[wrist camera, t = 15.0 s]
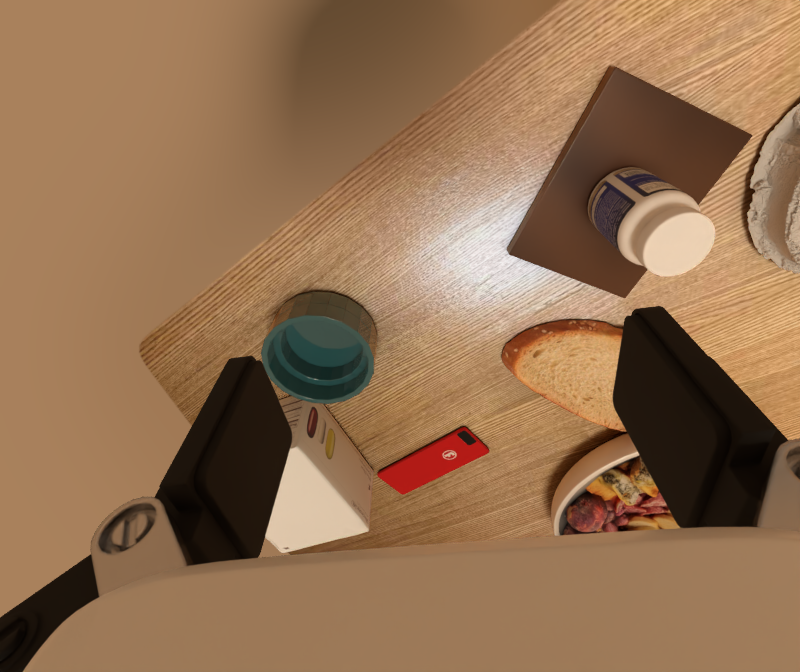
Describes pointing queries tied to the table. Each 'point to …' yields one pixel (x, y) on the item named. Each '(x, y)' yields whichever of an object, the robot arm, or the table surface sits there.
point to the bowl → (609, 494)
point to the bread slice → (570, 366)
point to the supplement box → (319, 482)
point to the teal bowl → (320, 348)
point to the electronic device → (434, 461)
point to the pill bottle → (651, 221)
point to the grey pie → (778, 195)
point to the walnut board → (612, 150)
